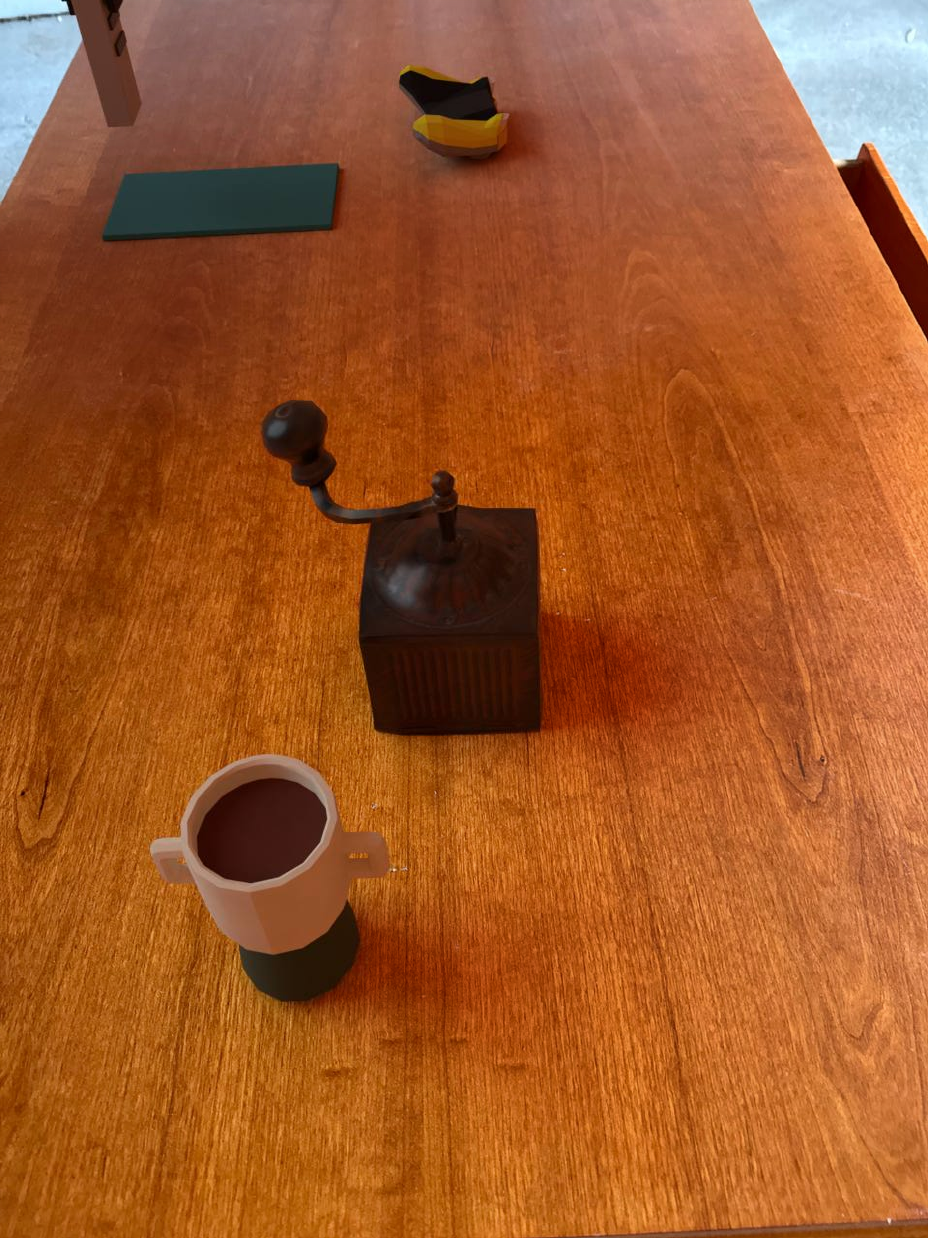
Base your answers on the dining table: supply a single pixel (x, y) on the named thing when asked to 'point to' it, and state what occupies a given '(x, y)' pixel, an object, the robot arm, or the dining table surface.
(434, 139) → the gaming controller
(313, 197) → the felt mat
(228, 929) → the character mug
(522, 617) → the manual coffee grinder
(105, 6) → the remote
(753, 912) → the dining table surface
